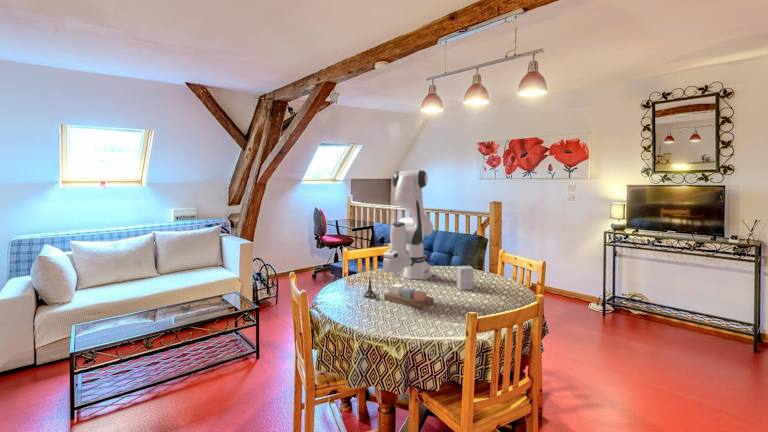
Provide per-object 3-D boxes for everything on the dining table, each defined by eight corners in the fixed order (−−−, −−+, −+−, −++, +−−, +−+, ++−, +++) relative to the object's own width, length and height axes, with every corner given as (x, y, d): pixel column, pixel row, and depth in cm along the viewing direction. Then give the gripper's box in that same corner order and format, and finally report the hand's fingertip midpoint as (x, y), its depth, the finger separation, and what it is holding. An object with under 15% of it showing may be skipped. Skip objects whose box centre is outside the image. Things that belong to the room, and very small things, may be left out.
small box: (469, 286, 243) (469, 265, 241) (473, 289, 237) (473, 268, 235) (456, 286, 242) (456, 265, 240) (460, 290, 236) (460, 268, 234)
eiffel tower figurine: (380, 302, 216) (380, 278, 214) (361, 302, 216) (361, 278, 214) (379, 293, 231) (379, 270, 229) (362, 293, 230) (361, 271, 229)
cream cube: (396, 292, 223) (396, 283, 223) (404, 294, 220) (404, 285, 220) (391, 294, 220) (391, 285, 219) (398, 296, 216) (398, 287, 216)
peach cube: (418, 299, 214) (418, 290, 213) (426, 302, 211) (426, 292, 210) (413, 302, 210) (413, 293, 210) (421, 304, 207) (421, 295, 206)
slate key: (407, 296, 219) (407, 288, 218) (415, 298, 216) (415, 289, 215) (402, 299, 215) (402, 290, 214) (409, 301, 212) (409, 292, 211)
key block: (397, 294, 228) (397, 289, 227) (433, 303, 212) (433, 298, 212) (384, 299, 219) (384, 294, 218) (420, 309, 203) (420, 304, 203)
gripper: (404, 248, 227) (404, 272, 228) (381, 254, 211) (380, 279, 213) (413, 250, 223) (413, 274, 224) (390, 255, 207) (390, 281, 209)
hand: (397, 277), depth 218 cm, fingers closed
